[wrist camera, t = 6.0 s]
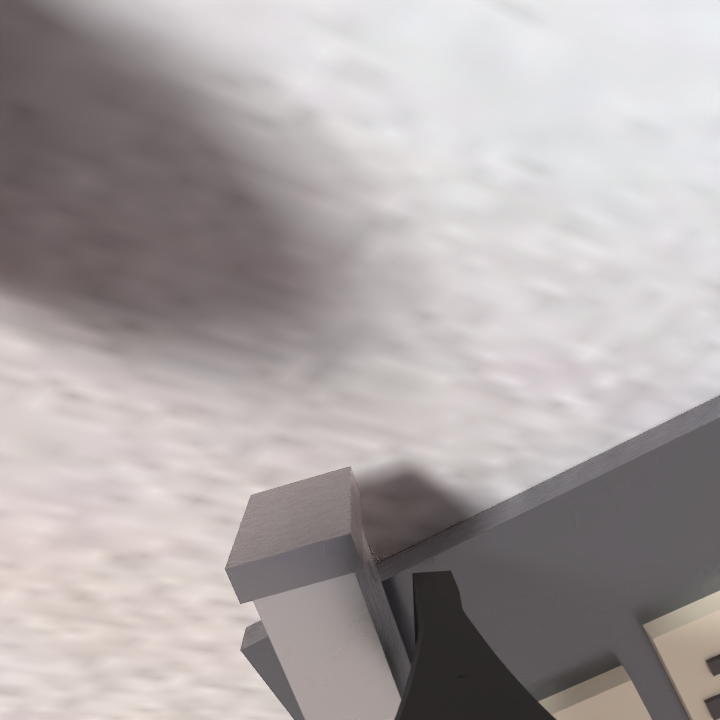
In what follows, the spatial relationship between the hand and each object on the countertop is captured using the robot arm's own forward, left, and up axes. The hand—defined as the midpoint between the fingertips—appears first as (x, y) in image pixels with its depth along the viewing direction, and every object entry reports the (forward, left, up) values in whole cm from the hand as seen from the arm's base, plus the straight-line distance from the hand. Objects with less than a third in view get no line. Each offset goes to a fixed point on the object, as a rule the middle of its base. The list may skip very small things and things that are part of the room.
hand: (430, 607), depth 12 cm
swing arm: (+3, +2, -1) cm, 4 cm away
